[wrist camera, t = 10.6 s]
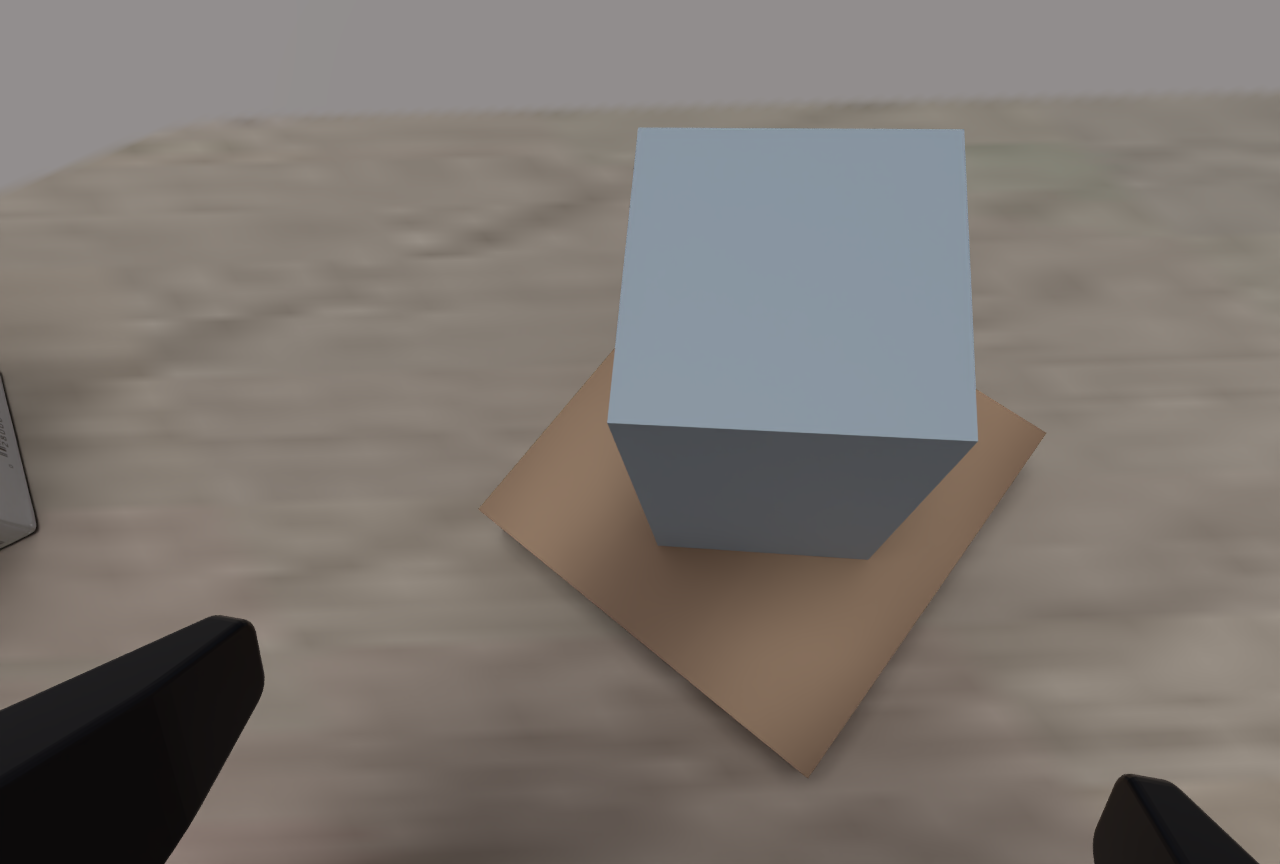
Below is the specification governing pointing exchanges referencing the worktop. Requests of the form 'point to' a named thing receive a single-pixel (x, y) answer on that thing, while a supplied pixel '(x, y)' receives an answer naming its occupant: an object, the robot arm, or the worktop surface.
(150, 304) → the worktop surface
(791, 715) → the walnut block
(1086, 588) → the worktop surface
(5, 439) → the coffee box
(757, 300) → the slate block
